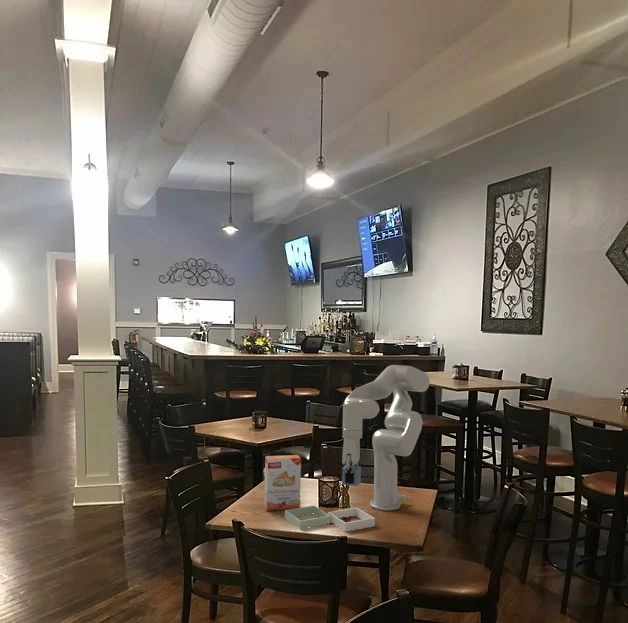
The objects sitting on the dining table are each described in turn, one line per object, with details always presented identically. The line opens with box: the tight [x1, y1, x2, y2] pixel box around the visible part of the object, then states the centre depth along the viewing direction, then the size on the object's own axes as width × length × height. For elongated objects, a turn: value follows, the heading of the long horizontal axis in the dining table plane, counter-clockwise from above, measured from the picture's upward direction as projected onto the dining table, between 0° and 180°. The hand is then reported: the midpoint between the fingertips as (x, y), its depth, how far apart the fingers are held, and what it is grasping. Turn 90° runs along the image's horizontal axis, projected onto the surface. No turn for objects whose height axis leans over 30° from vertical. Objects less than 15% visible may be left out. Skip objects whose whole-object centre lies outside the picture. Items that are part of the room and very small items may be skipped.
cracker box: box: [263, 454, 302, 512], centre depth 226 cm, size 14×6×21 cm, turn 105°
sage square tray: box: [284, 505, 332, 530], centre depth 211 cm, size 13×13×3 cm
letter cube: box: [341, 464, 362, 487], centre depth 210 cm, size 6×6×6 cm
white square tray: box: [327, 507, 376, 533], centre depth 210 cm, size 13×13×3 cm
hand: (351, 480), depth 210 cm, fingers closed on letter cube, 6 cm apart
